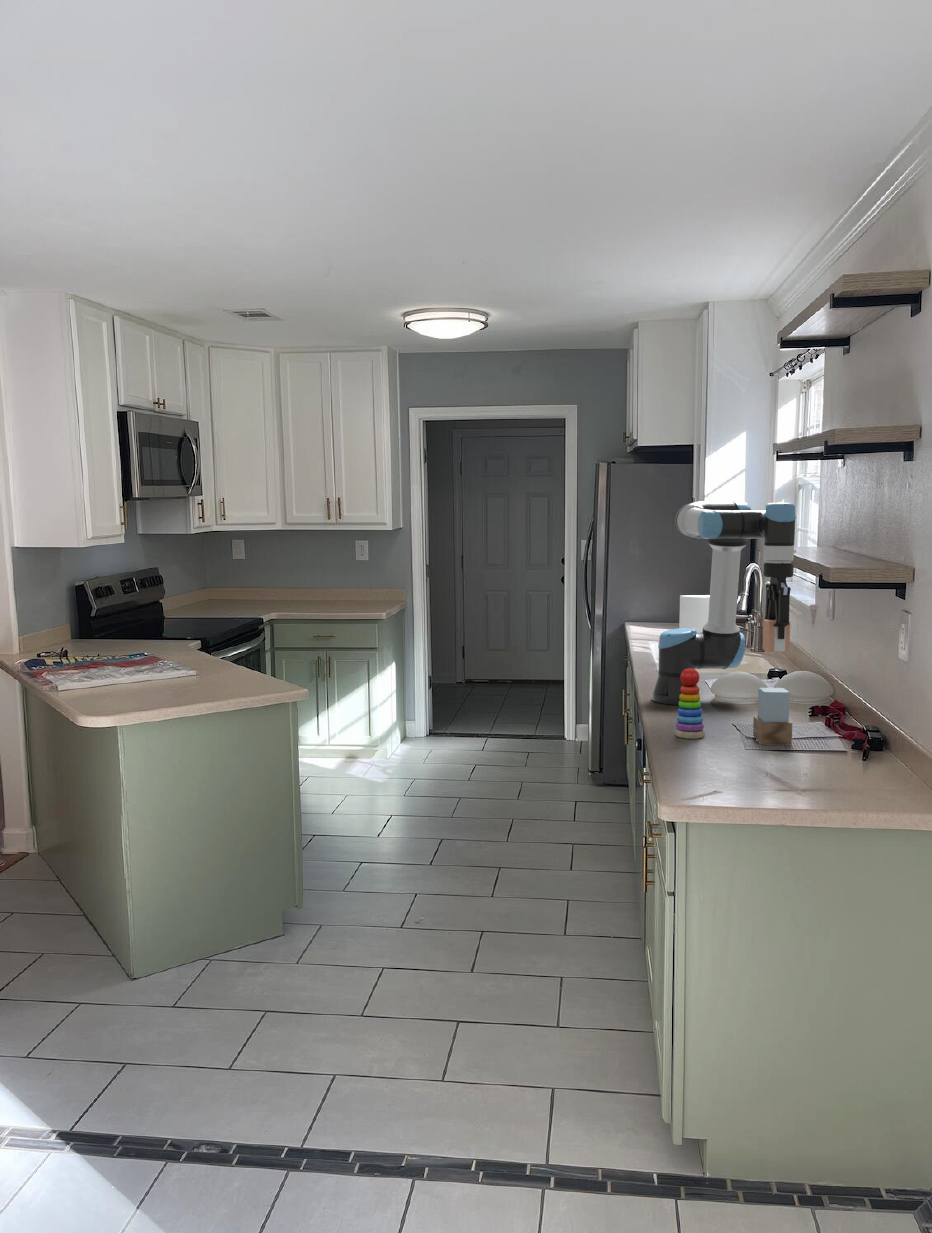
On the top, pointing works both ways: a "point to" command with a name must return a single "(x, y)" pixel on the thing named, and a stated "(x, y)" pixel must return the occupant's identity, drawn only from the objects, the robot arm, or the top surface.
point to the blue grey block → (773, 704)
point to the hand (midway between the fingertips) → (775, 649)
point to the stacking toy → (689, 707)
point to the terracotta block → (769, 636)
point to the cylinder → (694, 611)
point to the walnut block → (772, 732)
